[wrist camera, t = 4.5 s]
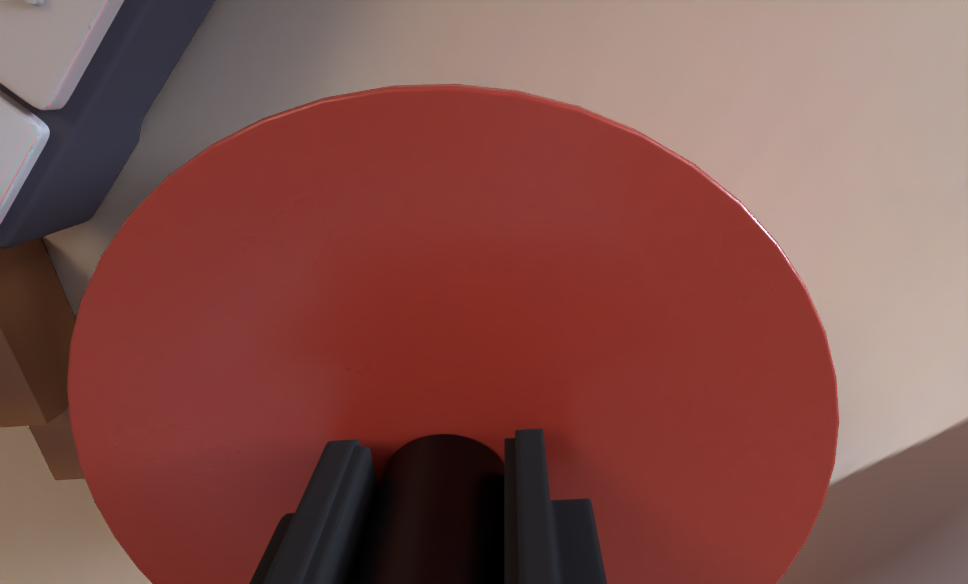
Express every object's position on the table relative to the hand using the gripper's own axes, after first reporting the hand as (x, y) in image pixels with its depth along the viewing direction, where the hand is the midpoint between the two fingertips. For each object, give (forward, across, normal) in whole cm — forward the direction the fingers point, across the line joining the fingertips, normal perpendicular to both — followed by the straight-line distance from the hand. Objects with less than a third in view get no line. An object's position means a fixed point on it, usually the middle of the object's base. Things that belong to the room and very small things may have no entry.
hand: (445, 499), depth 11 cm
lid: (+1, 0, 0) cm, 1 cm away
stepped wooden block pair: (+10, +16, +1) cm, 19 cm away
